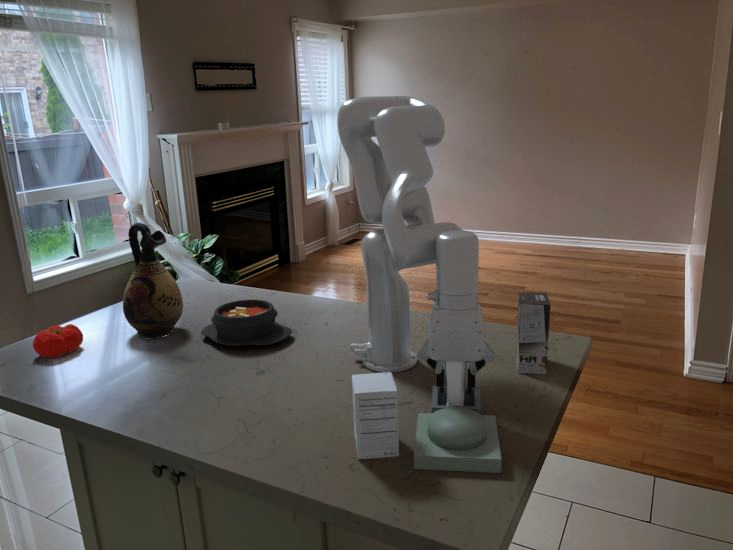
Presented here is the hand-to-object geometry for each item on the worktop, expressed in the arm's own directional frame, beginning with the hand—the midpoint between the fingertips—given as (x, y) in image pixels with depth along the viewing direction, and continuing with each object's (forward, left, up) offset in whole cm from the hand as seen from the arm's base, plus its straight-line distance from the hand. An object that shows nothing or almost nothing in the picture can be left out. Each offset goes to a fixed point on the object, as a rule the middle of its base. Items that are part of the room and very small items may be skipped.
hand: (455, 389), depth 113 cm
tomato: (-99, +25, -6) cm, 102 cm away
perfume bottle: (0, 0, -5) cm, 5 cm away
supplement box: (-14, -12, -6) cm, 19 cm away
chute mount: (0, -7, -5) cm, 9 cm away
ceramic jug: (-81, +40, -6) cm, 90 cm away
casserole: (-54, +37, -6) cm, 66 cm away
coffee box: (+17, +24, -6) cm, 30 cm away
